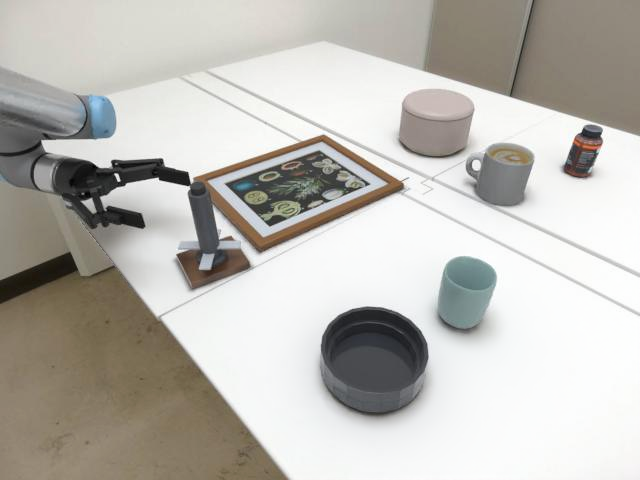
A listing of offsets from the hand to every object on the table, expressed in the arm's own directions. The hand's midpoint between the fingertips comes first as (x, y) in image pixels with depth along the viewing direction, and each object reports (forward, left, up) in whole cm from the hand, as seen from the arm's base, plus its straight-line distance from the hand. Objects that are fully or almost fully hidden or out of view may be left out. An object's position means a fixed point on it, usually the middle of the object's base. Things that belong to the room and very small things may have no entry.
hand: (167, 199), depth 79 cm
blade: (+4, -5, -12) cm, 13 cm away
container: (+72, +11, -13) cm, 74 cm away
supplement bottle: (+91, -18, -13) cm, 94 cm away
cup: (+34, -38, -13) cm, 53 cm away
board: (+4, -5, -13) cm, 15 cm away
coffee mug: (+68, -14, -13) cm, 70 cm away
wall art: (+31, +11, -13) cm, 35 cm away
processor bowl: (+16, -39, -13) cm, 44 cm away
